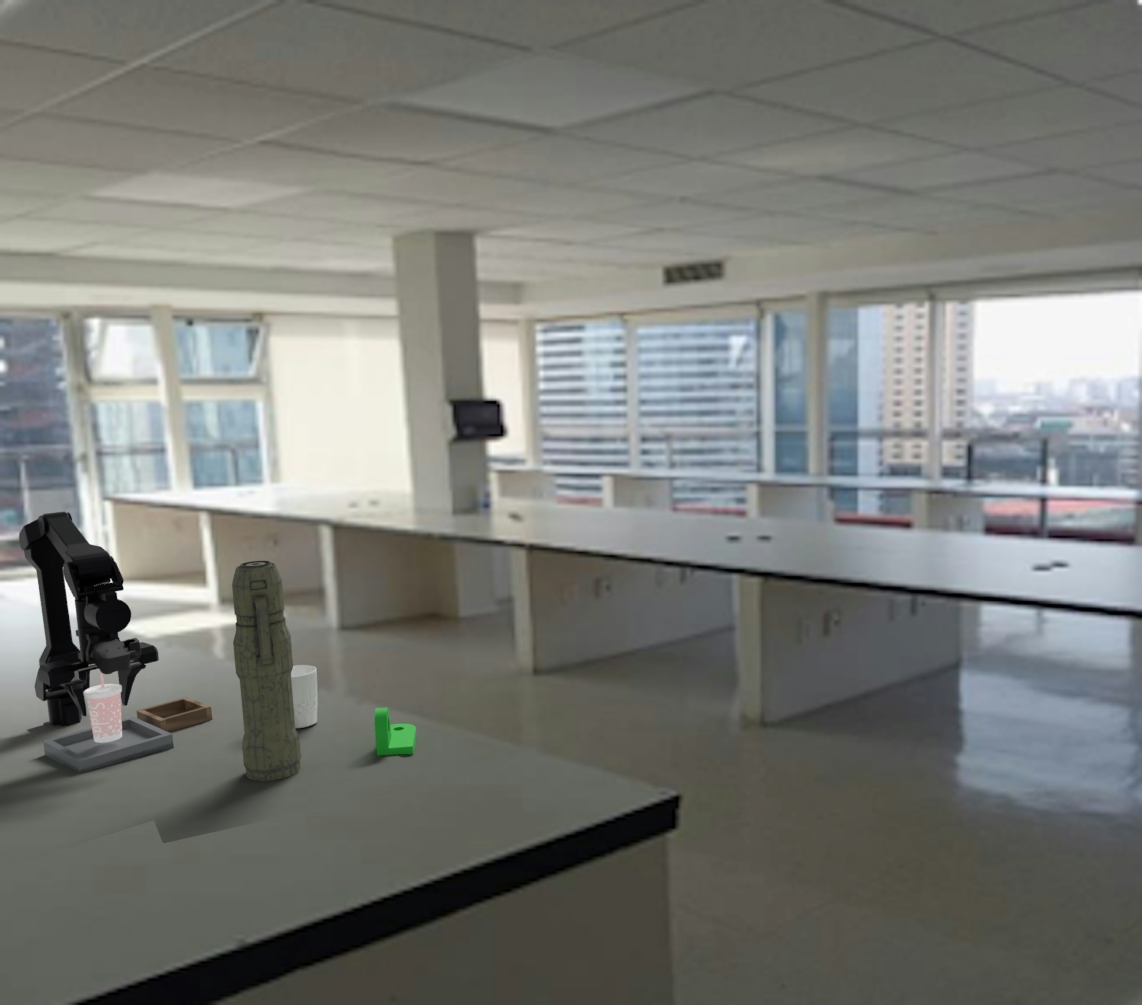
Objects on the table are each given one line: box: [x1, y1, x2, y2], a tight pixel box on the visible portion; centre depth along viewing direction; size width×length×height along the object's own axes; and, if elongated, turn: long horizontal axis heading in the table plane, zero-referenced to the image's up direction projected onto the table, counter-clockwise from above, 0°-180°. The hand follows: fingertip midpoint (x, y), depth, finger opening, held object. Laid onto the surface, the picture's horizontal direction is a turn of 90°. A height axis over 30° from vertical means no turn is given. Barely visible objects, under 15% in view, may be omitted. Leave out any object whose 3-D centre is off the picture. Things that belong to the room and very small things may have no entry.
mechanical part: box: [374, 707, 417, 757], centre depth 179 cm, size 12×6×8 cm, turn 5°
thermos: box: [231, 560, 302, 782], centre depth 166 cm, size 9×12×35 cm
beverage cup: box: [83, 670, 122, 743], centre depth 182 cm, size 6×6×14 cm
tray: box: [42, 716, 175, 774], centre depth 183 cm, size 16×16×2 cm
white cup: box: [291, 664, 319, 729], centre depth 193 cm, size 8×8×10 cm
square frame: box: [136, 696, 213, 733], centre depth 198 cm, size 10×10×2 cm
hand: (104, 710), depth 183 cm, fingers closed on beverage cup, 7 cm apart
